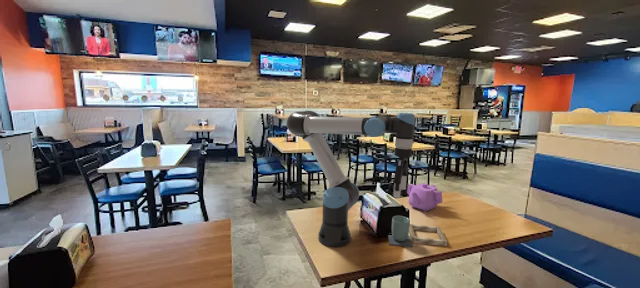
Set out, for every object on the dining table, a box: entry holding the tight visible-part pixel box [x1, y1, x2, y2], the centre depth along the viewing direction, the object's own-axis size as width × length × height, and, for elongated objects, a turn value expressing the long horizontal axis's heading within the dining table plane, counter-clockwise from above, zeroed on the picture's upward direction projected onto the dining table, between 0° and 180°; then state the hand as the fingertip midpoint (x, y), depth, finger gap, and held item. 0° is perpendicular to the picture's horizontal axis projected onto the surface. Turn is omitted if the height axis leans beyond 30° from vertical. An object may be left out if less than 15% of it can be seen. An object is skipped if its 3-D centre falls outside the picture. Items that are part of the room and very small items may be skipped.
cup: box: [391, 215, 411, 241], centre depth 129 cm, size 8×8×10 cm
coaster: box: [387, 234, 413, 248], centre depth 129 cm, size 10×10×1 cm
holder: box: [409, 223, 448, 247], centre depth 134 cm, size 15×15×2 cm
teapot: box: [406, 182, 443, 213], centre depth 170 cm, size 19×18×15 cm
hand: (399, 193), depth 128 cm, fingers open, 13 cm apart
